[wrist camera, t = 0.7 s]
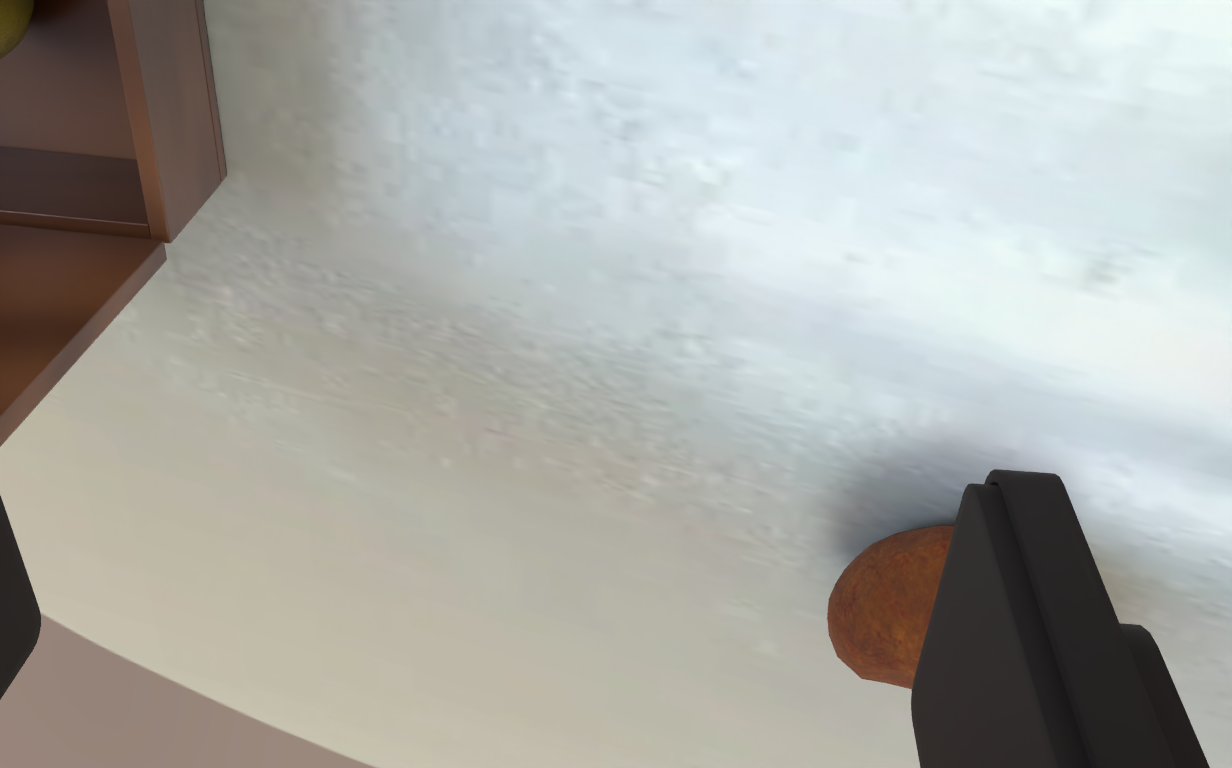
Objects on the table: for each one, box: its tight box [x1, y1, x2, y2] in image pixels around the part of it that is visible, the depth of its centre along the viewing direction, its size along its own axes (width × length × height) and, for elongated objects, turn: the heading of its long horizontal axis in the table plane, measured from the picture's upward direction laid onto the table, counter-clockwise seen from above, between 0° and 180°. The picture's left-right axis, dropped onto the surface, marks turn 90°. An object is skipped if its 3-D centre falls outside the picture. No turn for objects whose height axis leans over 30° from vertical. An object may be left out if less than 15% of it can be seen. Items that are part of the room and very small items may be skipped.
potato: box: [827, 526, 955, 689], centre depth 51 cm, size 8×11×8 cm
